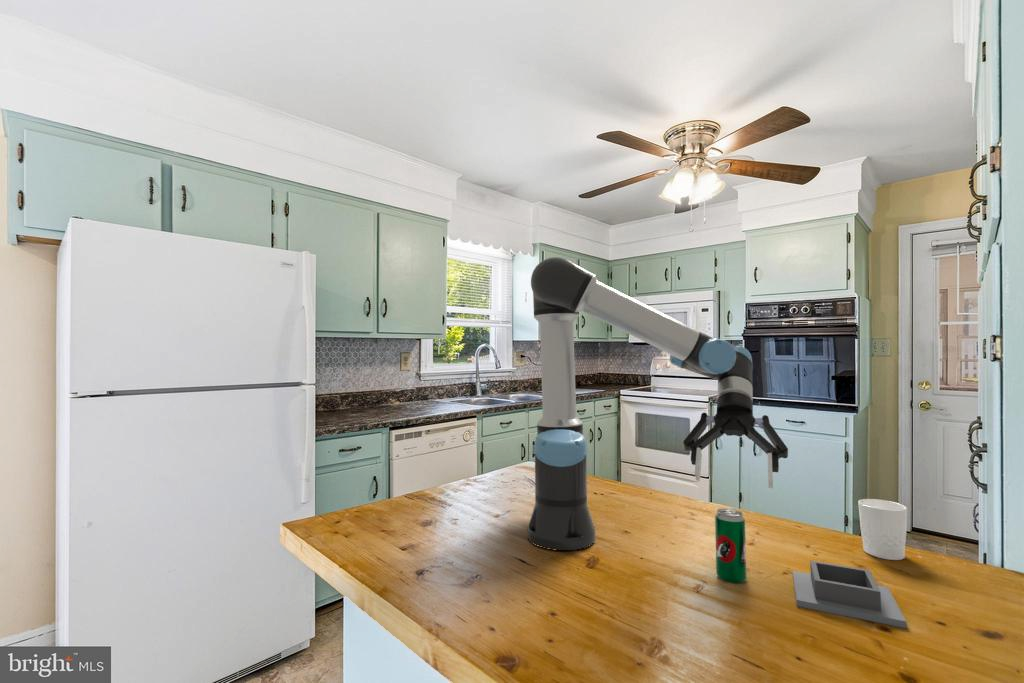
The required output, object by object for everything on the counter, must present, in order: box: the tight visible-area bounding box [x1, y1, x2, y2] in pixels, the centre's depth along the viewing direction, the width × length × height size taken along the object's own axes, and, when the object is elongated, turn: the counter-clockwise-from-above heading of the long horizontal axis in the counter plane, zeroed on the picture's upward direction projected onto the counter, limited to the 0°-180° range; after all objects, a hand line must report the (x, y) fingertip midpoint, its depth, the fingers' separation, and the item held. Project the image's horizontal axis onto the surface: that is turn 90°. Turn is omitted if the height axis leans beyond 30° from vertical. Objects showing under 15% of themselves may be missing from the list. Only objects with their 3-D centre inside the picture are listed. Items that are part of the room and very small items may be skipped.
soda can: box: [714, 507, 748, 584], centre depth 87 cm, size 5×5×12 cm
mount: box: [792, 560, 907, 629], centre depth 79 cm, size 14×12×4 cm
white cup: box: [857, 498, 908, 561], centre depth 98 cm, size 8×8×10 cm
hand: (732, 480), depth 97 cm, fingers open, 13 cm apart
